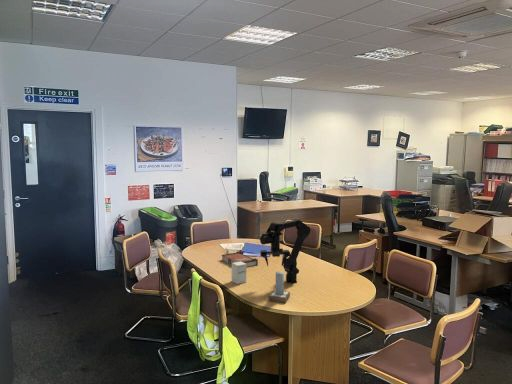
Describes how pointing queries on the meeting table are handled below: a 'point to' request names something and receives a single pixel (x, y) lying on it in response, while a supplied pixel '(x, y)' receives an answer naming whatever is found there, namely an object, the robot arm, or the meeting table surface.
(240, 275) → the supplement box
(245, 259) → the book
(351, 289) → the meeting table surface
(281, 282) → the slate pillar
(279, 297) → the foundation block
